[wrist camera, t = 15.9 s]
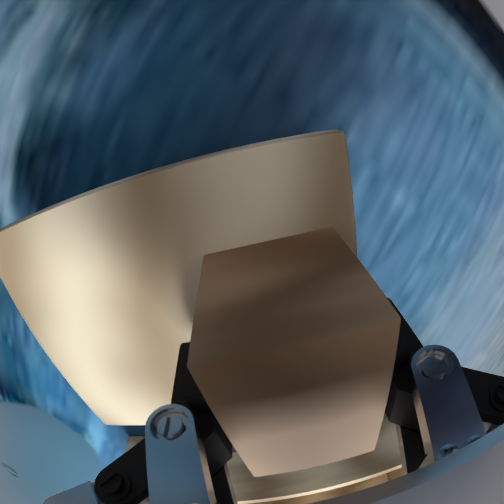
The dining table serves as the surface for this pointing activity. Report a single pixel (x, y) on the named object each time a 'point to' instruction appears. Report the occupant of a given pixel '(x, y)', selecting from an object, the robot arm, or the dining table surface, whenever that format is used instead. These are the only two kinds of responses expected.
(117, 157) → the dining table surface
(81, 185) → the dining table surface
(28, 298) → the lid
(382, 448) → the toolbox
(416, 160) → the dining table surface
